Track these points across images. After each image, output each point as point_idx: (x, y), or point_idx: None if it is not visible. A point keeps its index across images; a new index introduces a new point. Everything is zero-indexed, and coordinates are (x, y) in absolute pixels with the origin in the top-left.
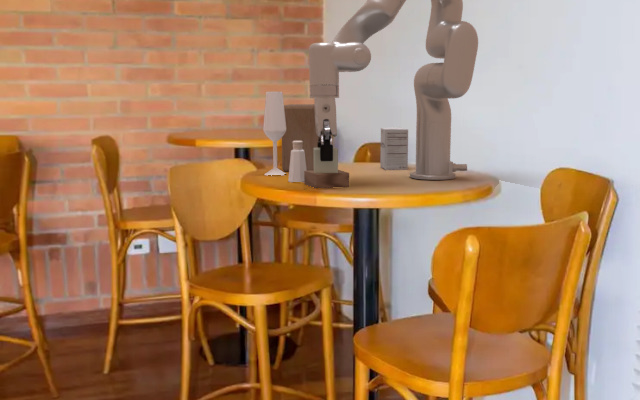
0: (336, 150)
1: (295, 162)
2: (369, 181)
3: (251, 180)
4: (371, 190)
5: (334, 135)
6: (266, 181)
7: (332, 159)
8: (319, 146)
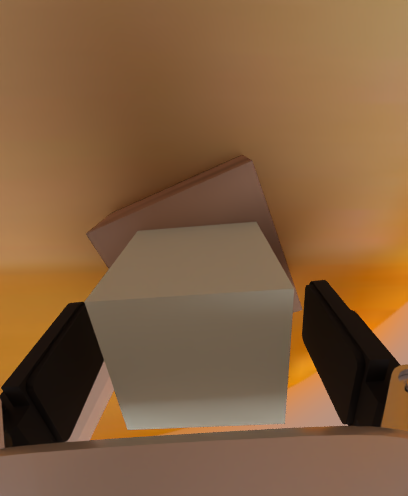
0: (291, 295)
1: (103, 405)
2: (32, 37)
3: (104, 433)
4: (367, 35)
5: (236, 447)
6: (118, 405)
7: (325, 285)
8: (77, 409)
